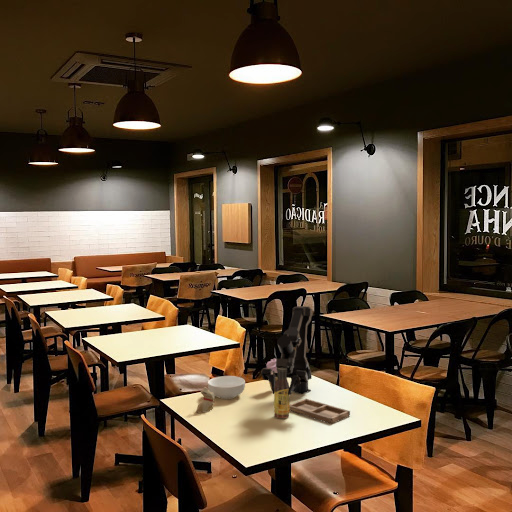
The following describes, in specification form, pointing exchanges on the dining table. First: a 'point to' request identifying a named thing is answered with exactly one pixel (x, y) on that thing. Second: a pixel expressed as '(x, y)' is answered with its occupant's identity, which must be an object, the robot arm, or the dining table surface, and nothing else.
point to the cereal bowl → (226, 386)
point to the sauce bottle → (281, 394)
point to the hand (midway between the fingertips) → (280, 394)
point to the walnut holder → (318, 410)
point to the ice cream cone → (272, 365)
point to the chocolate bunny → (206, 401)
